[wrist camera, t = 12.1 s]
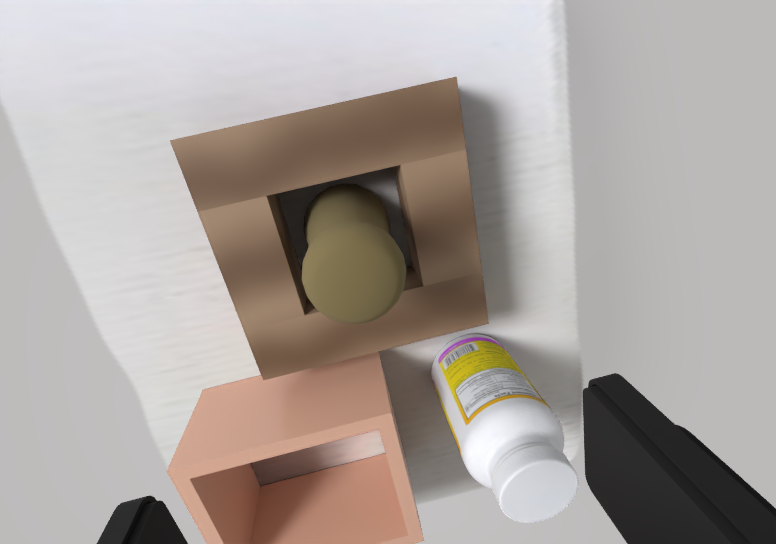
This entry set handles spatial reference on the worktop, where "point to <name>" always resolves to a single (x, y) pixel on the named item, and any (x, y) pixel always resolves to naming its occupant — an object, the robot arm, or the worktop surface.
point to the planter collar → (288, 434)
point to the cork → (351, 256)
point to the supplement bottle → (503, 428)
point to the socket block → (327, 163)
